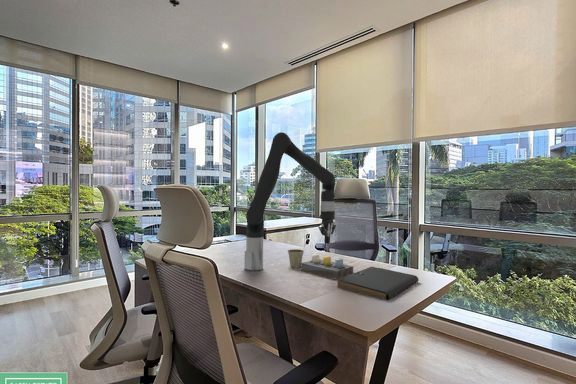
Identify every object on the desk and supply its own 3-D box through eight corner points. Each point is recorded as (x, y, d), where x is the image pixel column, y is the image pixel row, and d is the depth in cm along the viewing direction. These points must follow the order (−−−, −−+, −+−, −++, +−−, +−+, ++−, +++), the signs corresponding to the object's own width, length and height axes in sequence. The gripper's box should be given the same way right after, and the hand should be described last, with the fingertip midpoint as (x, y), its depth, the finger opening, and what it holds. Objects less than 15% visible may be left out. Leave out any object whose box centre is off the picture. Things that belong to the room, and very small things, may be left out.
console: (337, 279, 144) (338, 271, 144) (301, 270, 160) (301, 263, 160) (353, 274, 155) (353, 266, 155) (317, 265, 170) (317, 258, 170)
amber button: (327, 267, 154) (327, 258, 154) (321, 266, 157) (321, 256, 157) (332, 266, 157) (332, 256, 157) (326, 265, 160) (326, 255, 160)
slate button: (340, 270, 149) (340, 260, 149) (333, 269, 152) (333, 259, 152) (344, 269, 152) (344, 259, 152) (337, 267, 155) (338, 258, 155)
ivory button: (316, 265, 160) (316, 255, 160) (310, 263, 162) (310, 254, 162) (320, 264, 162) (320, 254, 162) (314, 262, 165) (314, 253, 165)
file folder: (371, 265, 158) (418, 275, 142) (371, 273, 158) (418, 284, 142) (336, 278, 133) (389, 292, 117) (336, 288, 133) (388, 302, 117)
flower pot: (284, 264, 172) (284, 249, 172) (299, 263, 176) (299, 248, 176) (291, 268, 163) (291, 253, 163) (306, 267, 167) (307, 251, 167)
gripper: (329, 209, 165) (328, 240, 165) (314, 210, 155) (313, 243, 155) (340, 209, 159) (340, 242, 160) (326, 211, 150) (325, 245, 150)
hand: (327, 243), depth 157 cm, fingers closed
